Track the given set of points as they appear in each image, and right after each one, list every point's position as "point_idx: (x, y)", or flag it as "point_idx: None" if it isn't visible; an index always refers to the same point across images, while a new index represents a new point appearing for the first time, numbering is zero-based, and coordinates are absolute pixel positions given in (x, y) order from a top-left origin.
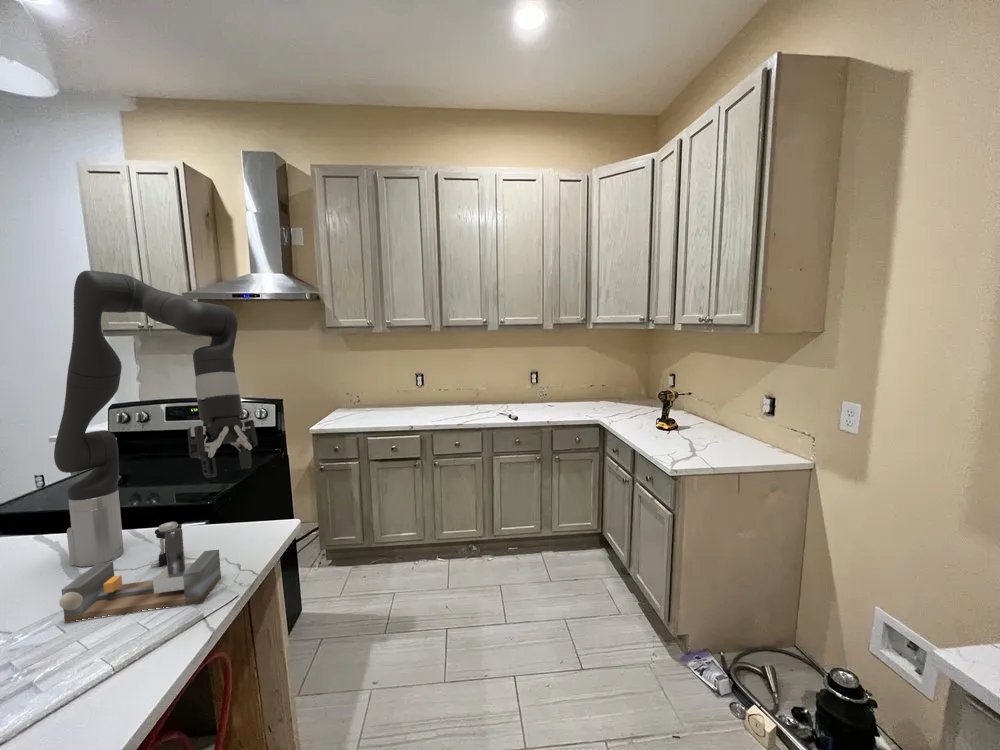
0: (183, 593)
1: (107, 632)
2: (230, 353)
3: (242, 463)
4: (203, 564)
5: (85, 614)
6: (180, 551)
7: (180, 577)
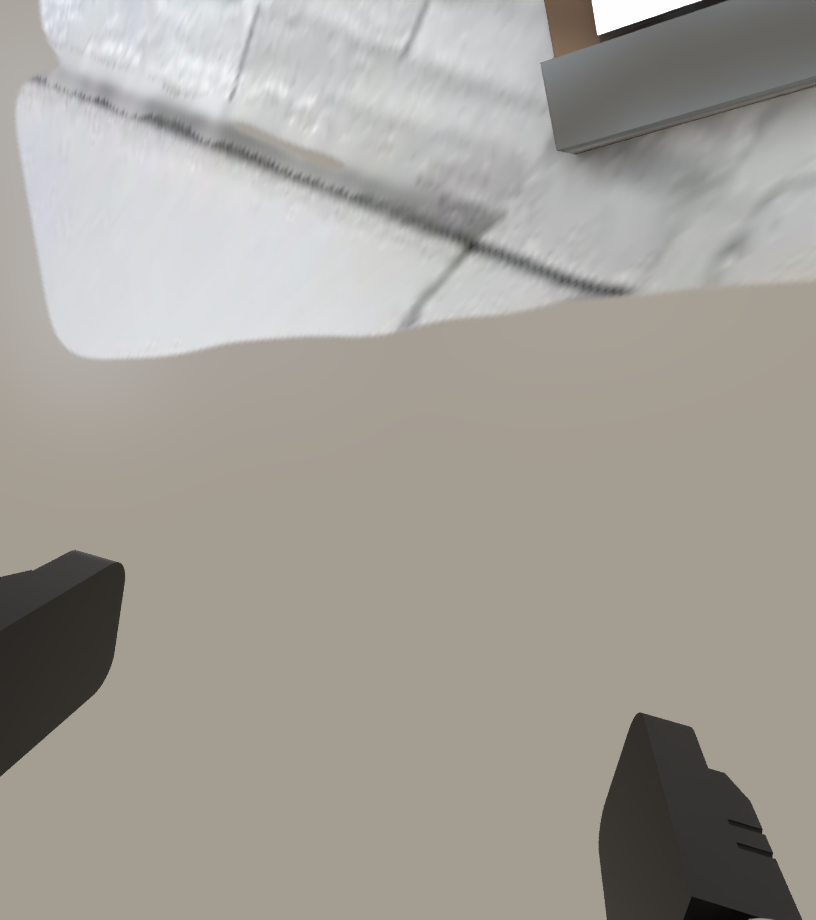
0: None
1: None
2: None
3: (638, 789)
4: (646, 108)
5: None
6: None
7: (593, 7)
